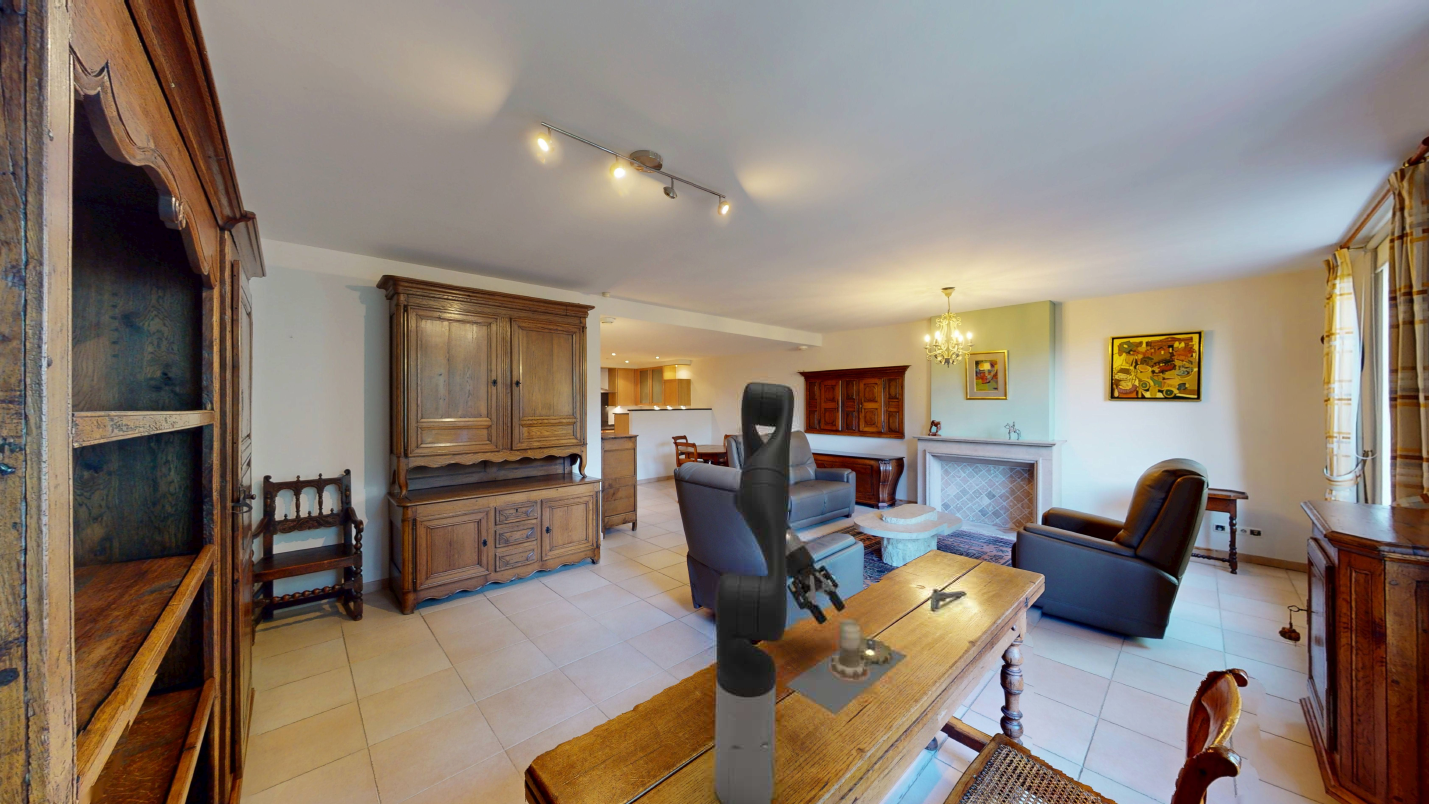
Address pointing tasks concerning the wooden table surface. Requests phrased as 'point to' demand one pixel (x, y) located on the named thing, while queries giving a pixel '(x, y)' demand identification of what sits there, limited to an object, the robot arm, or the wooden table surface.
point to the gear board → (838, 683)
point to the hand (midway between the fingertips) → (833, 616)
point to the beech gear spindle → (849, 652)
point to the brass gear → (874, 651)
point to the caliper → (943, 597)
